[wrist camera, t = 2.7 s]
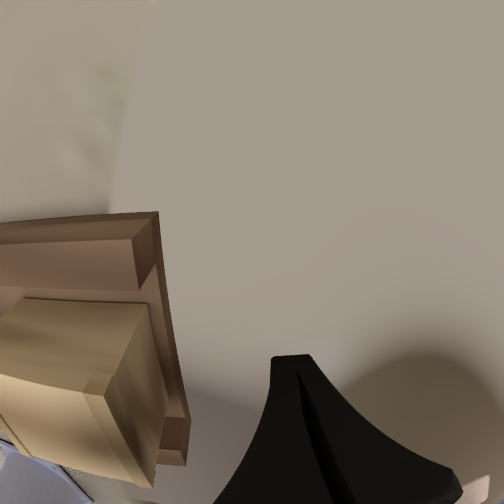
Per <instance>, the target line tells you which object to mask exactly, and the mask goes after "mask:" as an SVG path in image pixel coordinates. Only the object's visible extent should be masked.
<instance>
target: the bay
mask: <svg viewBox="0 0 504 504" xmlns="http://www.w3.org/2000/svg"><path fill="white" fill-rule="evenodd" d="M166 286H167V285H166V278H165V270H164V262H163V253H162V244H161V234H160V223H159V212H158V211H156V212H136V213H118V214H102V215H87V216H74V217H61V218H50V219H38V220H28V221H18V222H8V223H0V318H1V317H2V316H3V315H4V314H5V313H6V312H7V311H8V310H9V309H10V308H11V307H12V306H14V305H15V304H16V303H17V302H18V301H19V300H20V299H21V298H27V299H41V300H58V301H76V302H100V303H133V304H147V306H148V311H149V317H150V322H151V327H152V332H153V336H154V341H155V346H156V350H157V355H158V359H159V363H160V367H161V371H162V375H163V379H164V383H165V387H166V391H167V395H168V399H169V401H168V406H167V410H166V415H165V420H164V425H163V430H162V435H161V440H160V445H159V451H158V456H157V461H156V464H166V465H177V466H186V460H187V452H188V443H189V435H190V426H191V417H190V413H189V409H188V404H187V399H186V395H185V390H184V385H183V381H182V376H181V371H180V365H179V360H178V355H177V349H176V344H175V338H174V332H173V326H172V320H171V313H170V307H169V300H168V293H167V287H166Z"/></svg>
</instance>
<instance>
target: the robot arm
mask: <svg viewBox="0 0 504 504" xmlns="http://www.w3.org/2000/svg"><path fill="white" fill-rule="evenodd" d="M0 450H1V451H2V452H3V453H4V454H5V455H6V457H7V458H6V460H5V462H4V464H3V467H2V469H1V471H0V504H94V502H93V501H92V500H91V499H89V498H88V497H87V496H86V495H85V494H84V493H83V491H82V490H81V489H80V488H79V487H78V486H77V485H76V484H75V483H74V482H73V481H72V480H71V479H70V478H69V477H68V475H67V474H66V473H65V472H64V471H63V470H62V469H61V467H60V466H59V465H58V464H55V463H52V462H49V461H46V460H43V459H40V458H38V457H35V456H33V458H30V457H27V456H25V455H22V454H21V452H20V451H19V450H18V449H17V448H16V447H15V446H13V445H10V444H8V443H6V442H3V441H1V440H0ZM462 494H463V490H462V487H461V485H460V483H459V481H458V479H457V477H456V475H455V474H454V472H453V470H452V469H450V468H448V467H445V466H443V465H440V464H437V463H435V462H433V461H430V460H428V459H426V458H424V457H422V456H420V455H418V454H416V453H414V452H412V451H410V450H408V449H407V448H405V447H404V446H402V445H400V444H398V443H397V442H396V441H394V440H392V439H391V438H389V437H388V436H386V435H385V434H384V433H382V432H381V431H380V430H378V429H377V428H376V427H375V426H373V425H372V424H371V423H370V422H369V421H367V420H366V419H365V418H364V417H363V416H362V415H361V414H359V412H357V411H356V410H355V409H354V408H353V407H352V406H351V405H350V404H349V403H348V401H346V399H345V398H344V397H343V396H342V395H341V394H340V393H339V392H338V390H337V389H336V388H335V387H334V386H333V385H332V384H331V383H330V381H329V380H328V379H327V377H326V376H325V375H324V373H323V372H322V371H321V370H320V368H319V367H318V366H317V364H316V363H315V361H314V360H313V358H312V357H311V356H310V355H309V354H303V355H289V356H288V355H287V356H274V357H273V358H271V369H270V388H269V393H268V397H267V401H266V404H265V408H264V411H263V414H262V417H261V420H260V423H259V425H258V428H257V430H256V433H255V435H254V437H253V440H252V442H251V444H250V446H249V448H248V450H247V452H246V454H245V456H244V458H243V460H242V461H241V463H240V465H239V467H238V468H237V470H236V471H235V473H234V475H233V476H232V478H231V479H230V481H229V482H228V484H227V485H226V487H225V488H224V490H223V491H222V492H221V494H220V495H219V496H218V498H217V499H216V500H215V501H214V503H213V504H454V503H455V502H456V501H457V500H458V499H459V498H460V497H461V496H462ZM496 504H504V499H502V500H500V501H499V502H498V503H496Z"/></svg>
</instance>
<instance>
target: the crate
mask: <svg viewBox="0 0 504 504" xmlns="http://www.w3.org/2000/svg"><path fill="white" fill-rule="evenodd" d="M168 401H169V399H168V395H167V391H166V387H165V383H164V379H163V375H162V371H161V367H160V363H159V359H158V355H157V350H156V346H155V341H154V336H153V332H152V327H151V322H150V317H149V311H148V306H147V304H133V303H100V302H76V301H58V300H41V299H27V298H21V299H20V300H19V301H18V302H17V303H16V304H15V305H14V306H12V307H11V308H10V309H9V310H8V311H7V312H6V313H5V314H4V315H3V316H2V317H1V318H0V427H1V429H2V430H3V431H4V432H5V434H6V435H7V436H8V438H9V439H10V440H11V441H12V443H13V444H14V445H15V446H16V448H17V449H18V450H19V451H20V452H21V454H22V455H25V456H27V457H30V458H33V456H35V457H38V458H40V459H43V460H46V461H49V462H52V463H55V464H59V465H62V466H65V467H68V468H72V469H76V470H79V471H83V472H87V473H91V474H95V475H99V476H104V477H108V478H113V479H118V480H123V481H129V482H134V483H135V484H136V486H140V487H146V488H153V483H154V477H155V467H156V461H157V456H158V451H159V445H160V440H161V435H162V430H163V425H164V420H165V415H166V410H167V406H168Z"/></svg>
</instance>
